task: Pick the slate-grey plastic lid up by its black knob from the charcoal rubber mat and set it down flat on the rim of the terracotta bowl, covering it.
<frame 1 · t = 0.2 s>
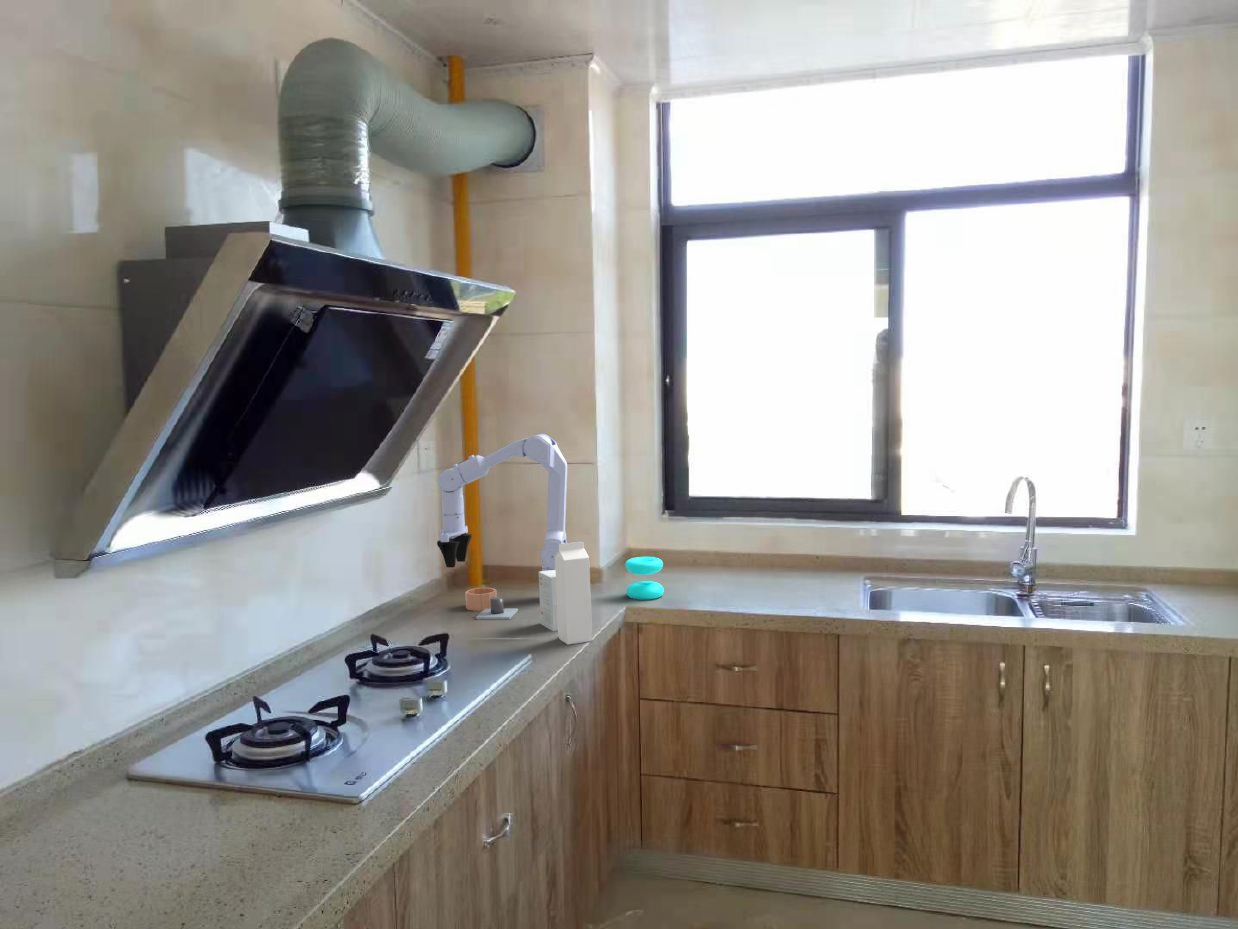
hand: (456, 564, 253), 10 cm above the worktop, tool pointing down, fingers open, 7 cm apart
mat: (497, 616, 236), on the worktop
small box: (558, 627, 224), on the worktop
lid: (497, 615, 235), resting on mat
donuts: (645, 597, 252), on the worktop
milk: (575, 640, 212), on the worktop
bowl: (481, 608, 245), on the worktop
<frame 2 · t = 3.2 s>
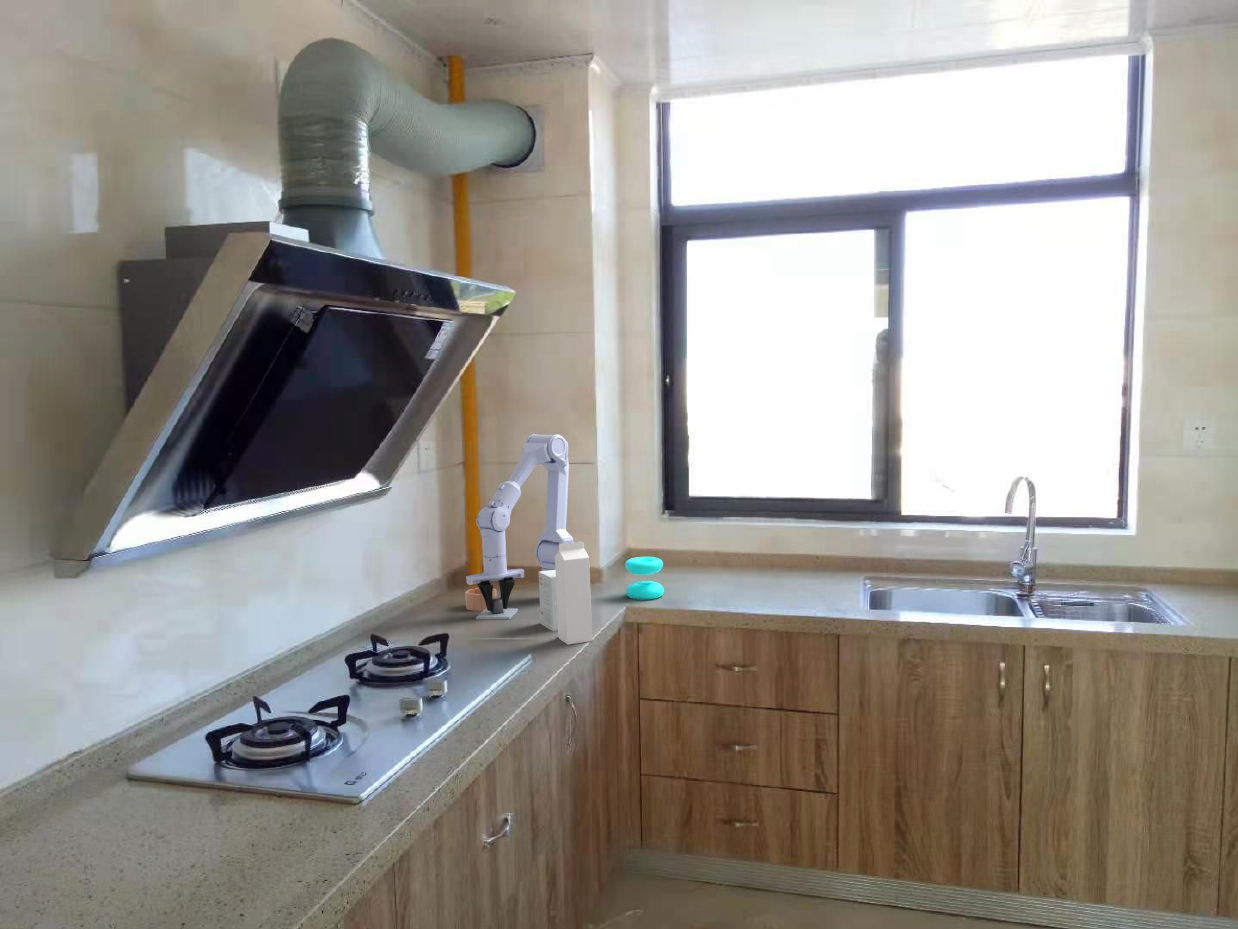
hand: (497, 609, 235), 2 cm above the worktop, tool pointing down, fingers closed on lid, 3 cm apart
lid: (497, 615, 235), resting on mat, touching gripper
everything else where it was.
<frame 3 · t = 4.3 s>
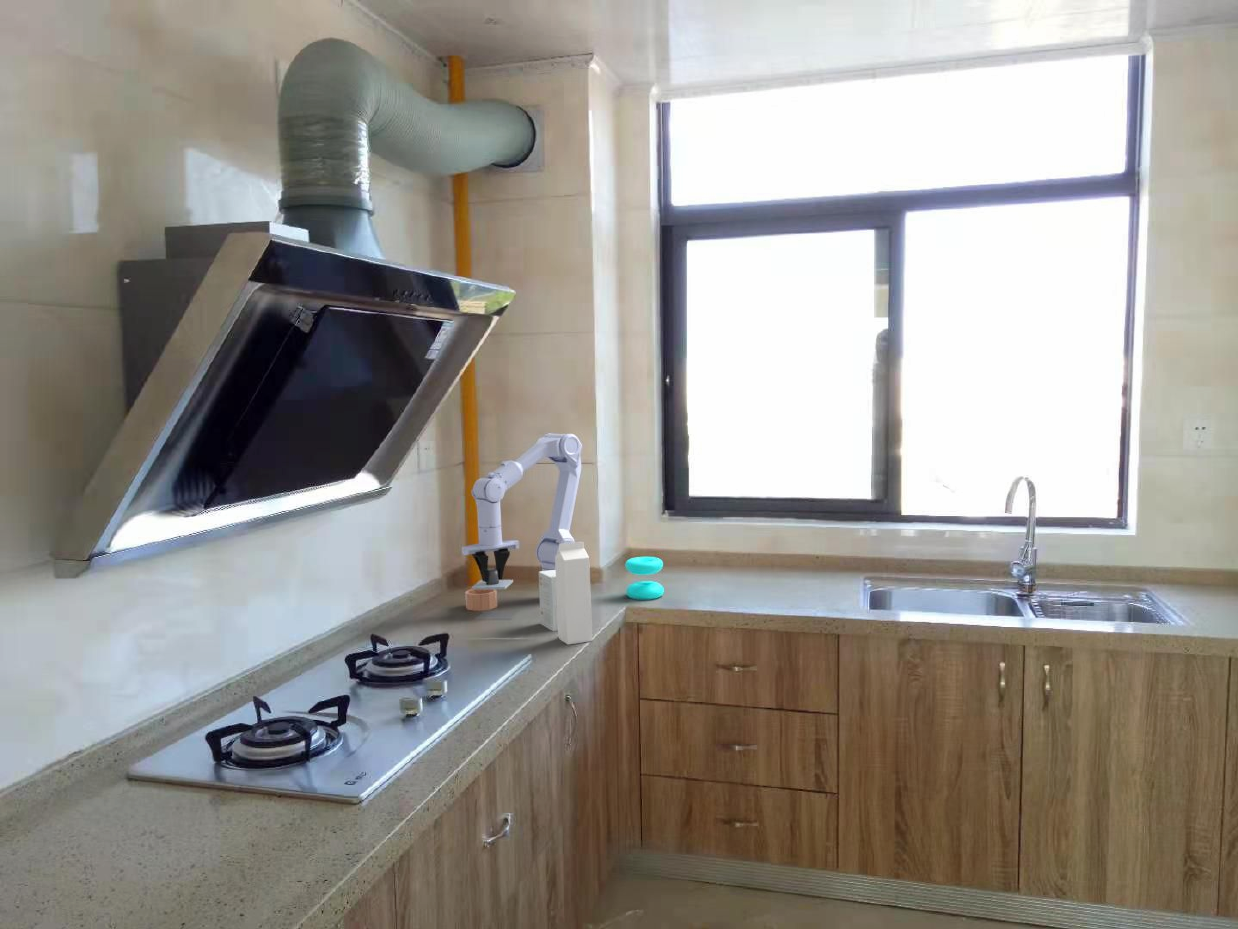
hand: (492, 580, 237), 9 cm above the worktop, tool pointing down, fingers closed on lid, 3 cm apart
lid: (492, 585, 237), point 7 cm above the worktop, touching gripper
everything else where it was.
when the fingers open (7 cm above the worktop, at t = 5.8 s): lid drops 1 cm, resting on bowl.
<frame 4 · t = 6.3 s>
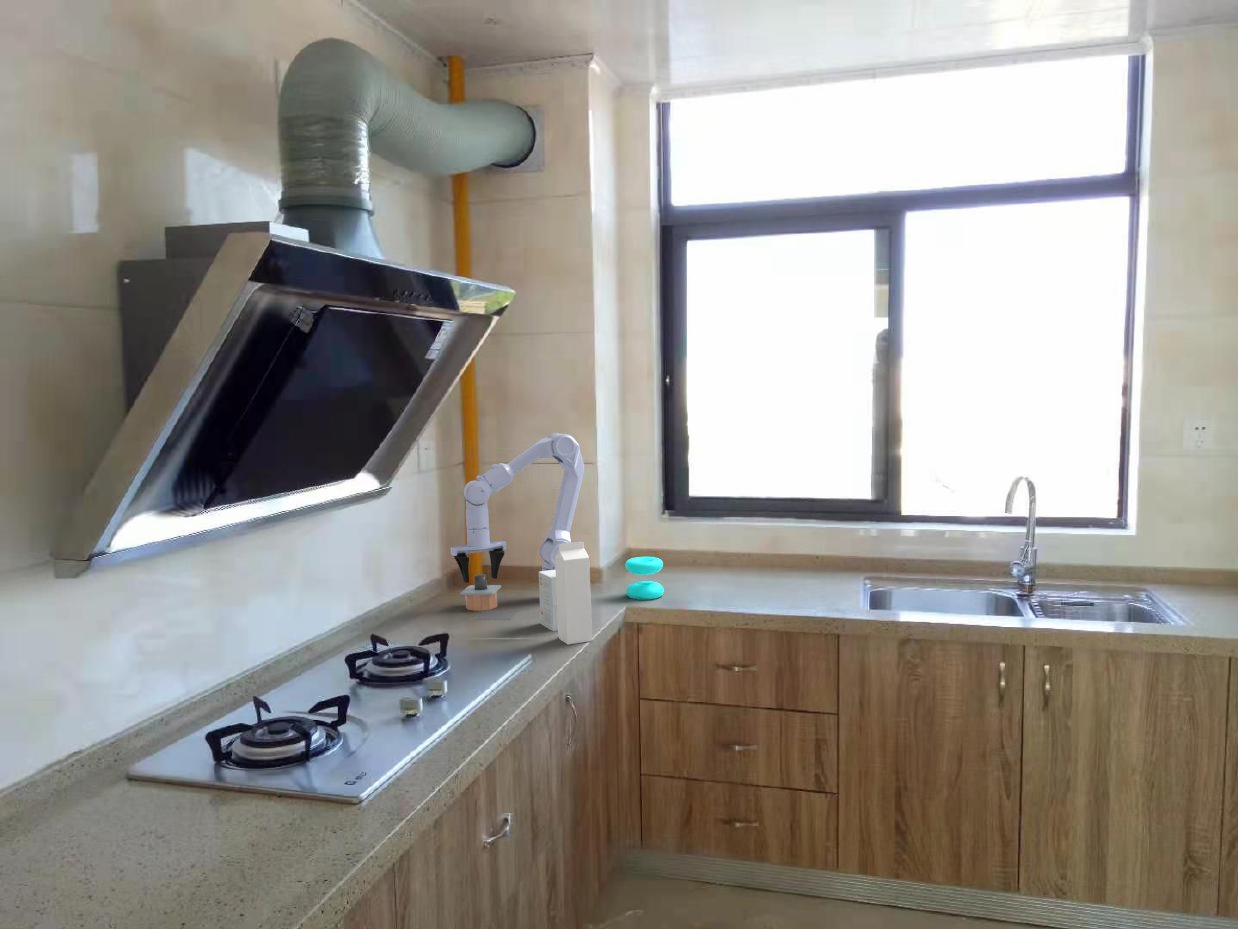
hand: (480, 580, 244), 7 cm above the worktop, tool pointing down, fingers open, 7 cm apart
lid: (481, 591, 244), point 4 cm above the worktop, touching bowl
everything else where it was.
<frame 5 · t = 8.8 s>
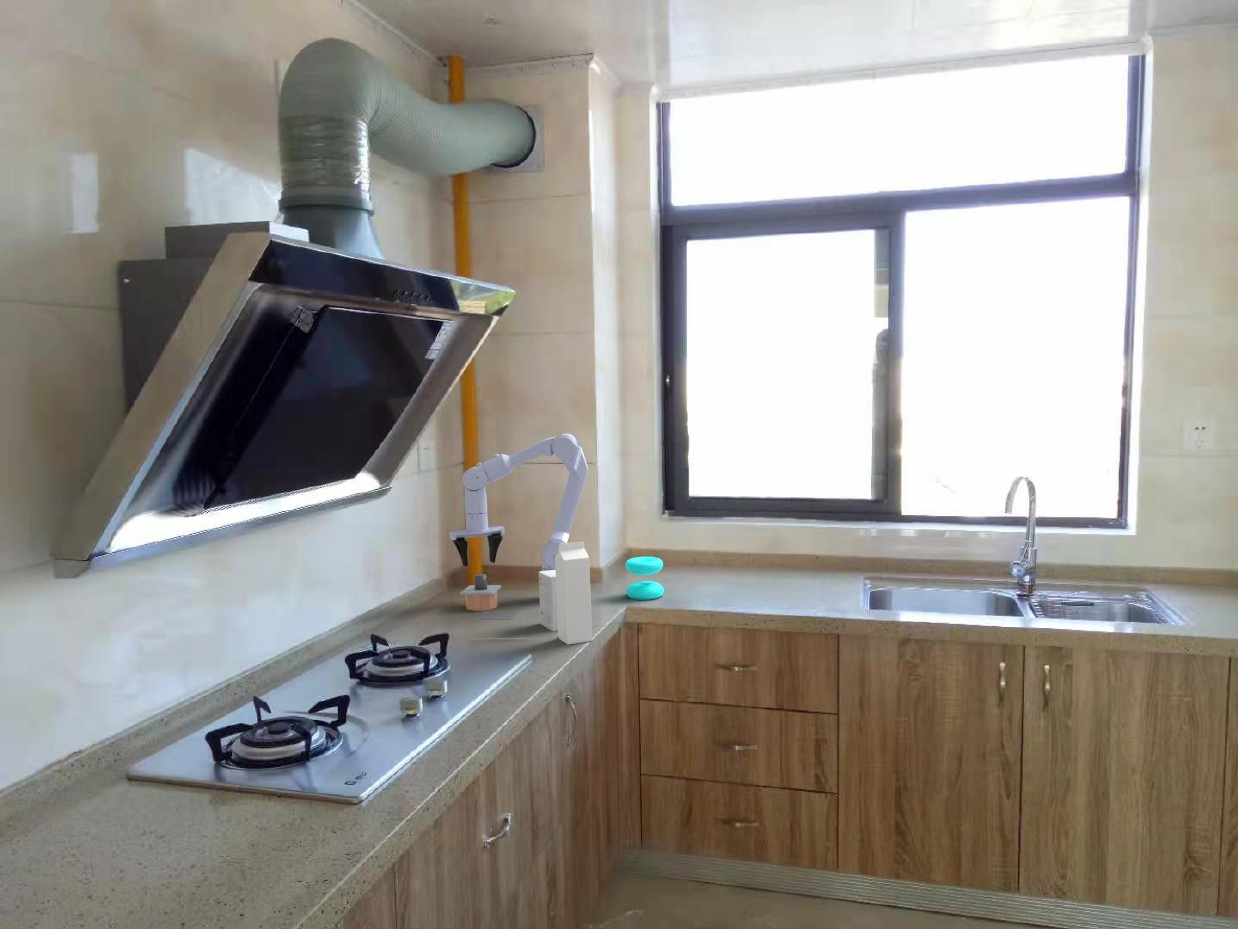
hand: (478, 564, 250), 10 cm above the worktop, tool pointing down, fingers open, 7 cm apart
nothing on the worktop moved.
at the end: lid 0.0 cm off-centre on the bowl, point 4.5 cm above the bowl's base; lid tilted 0°; the gripper is holding nothing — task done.
